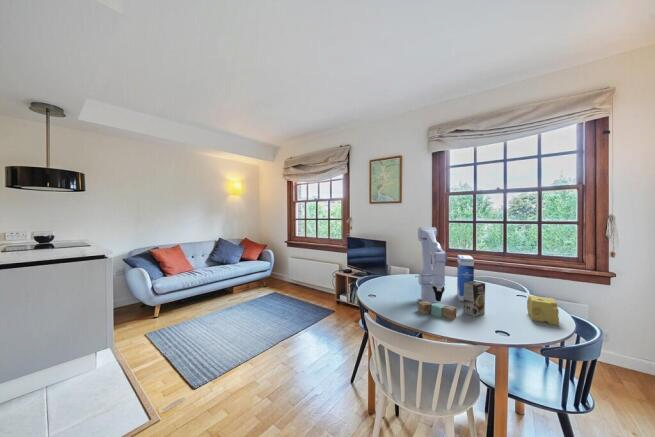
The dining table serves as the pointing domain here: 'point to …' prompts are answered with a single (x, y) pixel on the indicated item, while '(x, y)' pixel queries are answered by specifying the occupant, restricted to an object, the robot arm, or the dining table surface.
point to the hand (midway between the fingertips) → (438, 300)
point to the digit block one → (424, 307)
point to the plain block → (437, 309)
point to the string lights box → (464, 273)
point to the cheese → (543, 309)
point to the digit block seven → (449, 312)
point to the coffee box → (474, 298)
